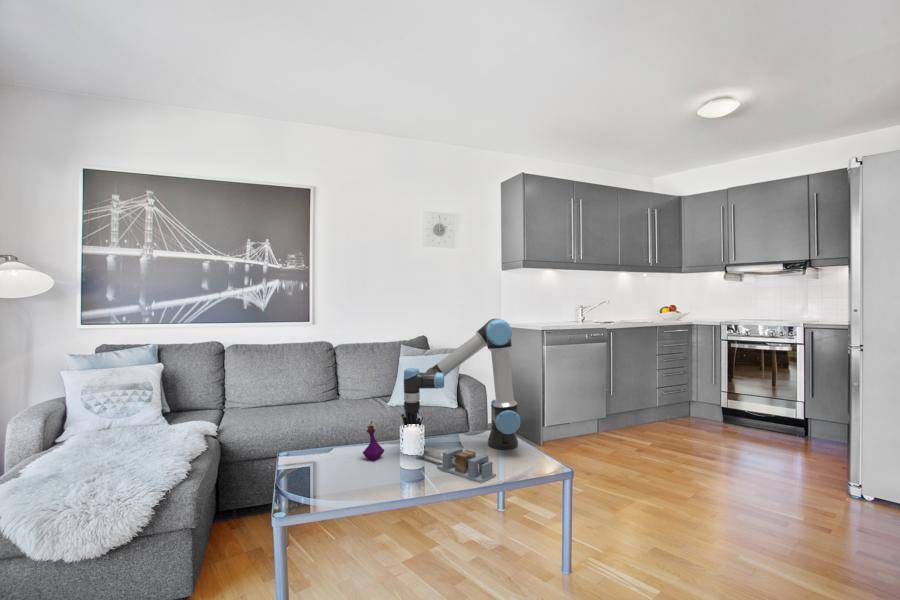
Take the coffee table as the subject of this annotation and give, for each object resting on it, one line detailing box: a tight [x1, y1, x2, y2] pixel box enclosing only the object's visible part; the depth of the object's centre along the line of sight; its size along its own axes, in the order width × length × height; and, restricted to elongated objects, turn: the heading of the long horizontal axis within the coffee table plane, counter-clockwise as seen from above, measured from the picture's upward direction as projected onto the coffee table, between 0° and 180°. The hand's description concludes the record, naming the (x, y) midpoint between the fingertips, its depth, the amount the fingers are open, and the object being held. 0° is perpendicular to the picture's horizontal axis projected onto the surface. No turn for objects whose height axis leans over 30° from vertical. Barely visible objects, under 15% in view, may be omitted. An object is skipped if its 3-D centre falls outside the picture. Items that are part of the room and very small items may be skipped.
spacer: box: [455, 449, 477, 474], centre depth 202 cm, size 8×5×7 cm, turn 138°
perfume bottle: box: [362, 419, 385, 461], centre depth 220 cm, size 8×8×18 cm
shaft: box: [423, 445, 455, 464], centre depth 213 cm, size 5×23×5 cm, turn 48°
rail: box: [436, 446, 497, 484], centre depth 202 cm, size 10×25×8 cm, turn 48°
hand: (412, 450), depth 224 cm, fingers closed
